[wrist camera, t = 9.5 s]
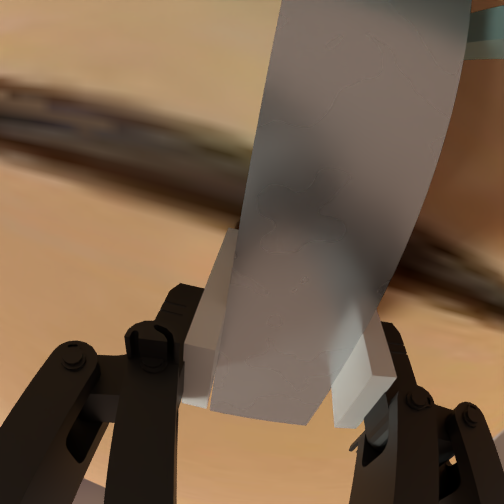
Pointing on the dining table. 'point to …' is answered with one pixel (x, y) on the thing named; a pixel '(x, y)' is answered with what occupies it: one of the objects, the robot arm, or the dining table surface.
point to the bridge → (486, 34)
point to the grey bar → (332, 191)
